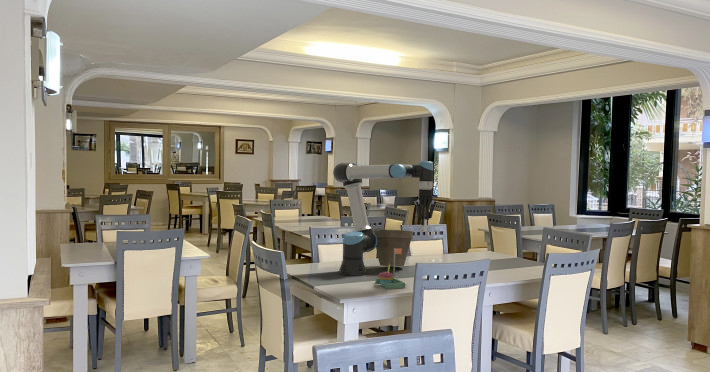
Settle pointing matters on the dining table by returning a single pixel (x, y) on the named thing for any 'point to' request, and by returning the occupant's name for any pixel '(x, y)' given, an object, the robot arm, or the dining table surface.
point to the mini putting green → (395, 282)
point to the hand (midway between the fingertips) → (424, 231)
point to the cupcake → (385, 277)
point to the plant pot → (392, 246)
